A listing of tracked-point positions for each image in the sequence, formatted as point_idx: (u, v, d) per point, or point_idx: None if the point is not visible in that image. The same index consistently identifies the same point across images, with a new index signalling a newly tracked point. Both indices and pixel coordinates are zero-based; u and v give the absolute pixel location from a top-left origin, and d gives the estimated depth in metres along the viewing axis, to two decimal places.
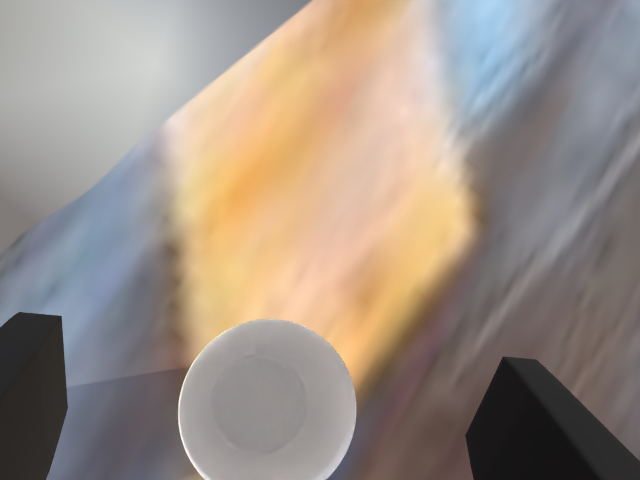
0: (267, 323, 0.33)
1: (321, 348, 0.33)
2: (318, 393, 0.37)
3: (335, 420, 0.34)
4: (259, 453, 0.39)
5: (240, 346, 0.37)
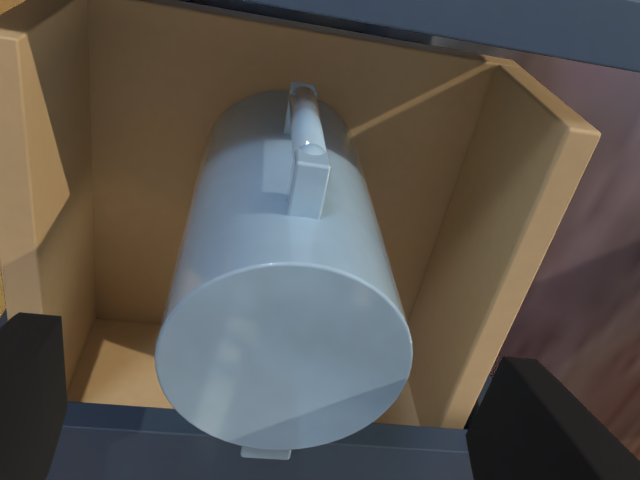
0: None
1: None
2: None
3: None
4: None
5: None
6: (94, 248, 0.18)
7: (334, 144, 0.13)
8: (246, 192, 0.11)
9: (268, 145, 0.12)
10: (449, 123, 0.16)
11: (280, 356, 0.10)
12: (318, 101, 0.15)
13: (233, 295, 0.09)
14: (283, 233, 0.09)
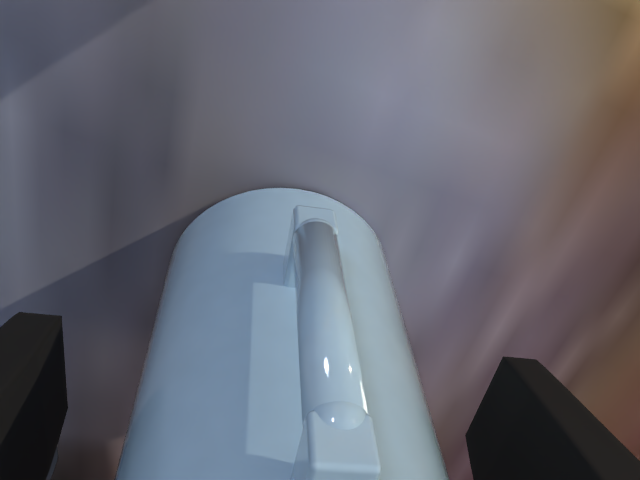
0: None
1: None
2: None
3: None
4: None
5: None
6: None
7: (363, 295, 0.09)
8: (216, 449, 0.06)
9: (259, 317, 0.08)
10: None
11: None
12: (334, 203, 0.11)
13: None
14: None
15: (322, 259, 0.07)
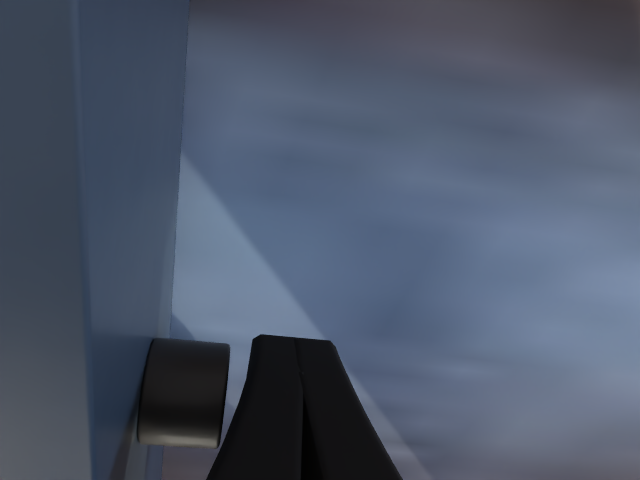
0: None
1: None
2: None
3: None
4: None
5: None
6: None
7: None
8: None
9: None
10: None
11: None
12: None
13: None
14: None
15: None
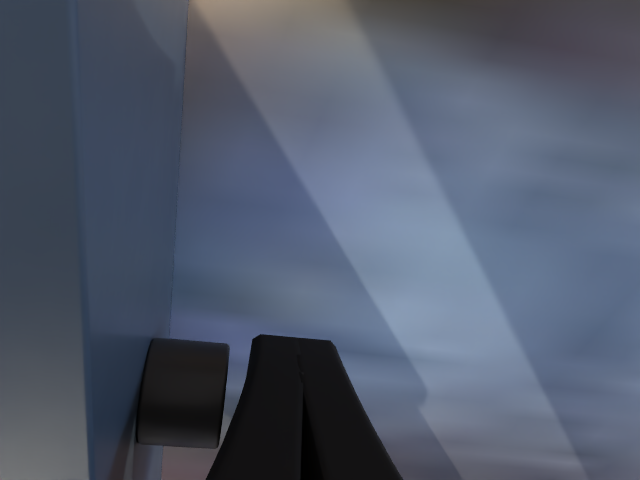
0: None
1: None
2: None
3: None
4: None
5: None
6: None
7: None
8: None
9: None
10: None
11: None
12: None
13: None
14: None
15: None
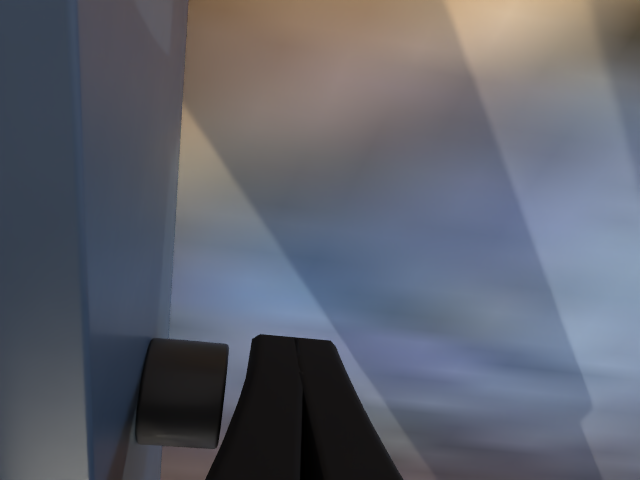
0: None
1: None
2: None
3: None
4: None
5: None
6: None
7: None
8: None
9: None
10: None
11: None
12: None
13: None
14: None
15: None
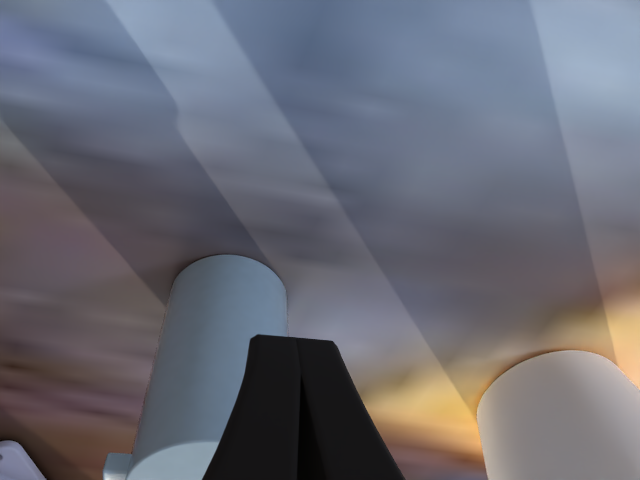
0: None
1: None
2: None
3: None
4: (478, 421, 0.26)
5: None
6: None
7: None
8: None
9: None
10: None
11: None
12: None
13: None
14: None
15: None
